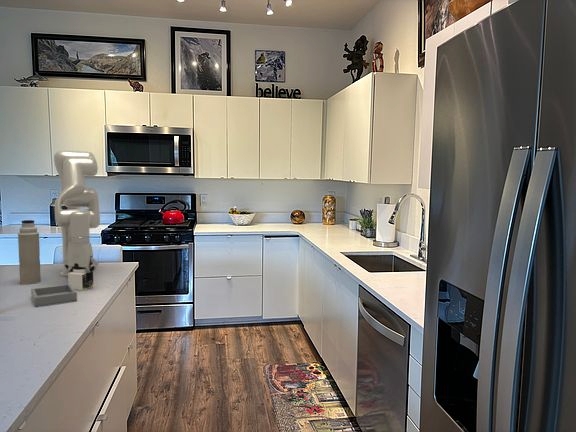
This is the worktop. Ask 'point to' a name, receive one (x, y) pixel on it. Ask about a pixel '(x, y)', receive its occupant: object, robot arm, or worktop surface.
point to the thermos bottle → (29, 253)
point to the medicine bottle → (79, 278)
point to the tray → (53, 295)
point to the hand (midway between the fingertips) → (80, 280)
